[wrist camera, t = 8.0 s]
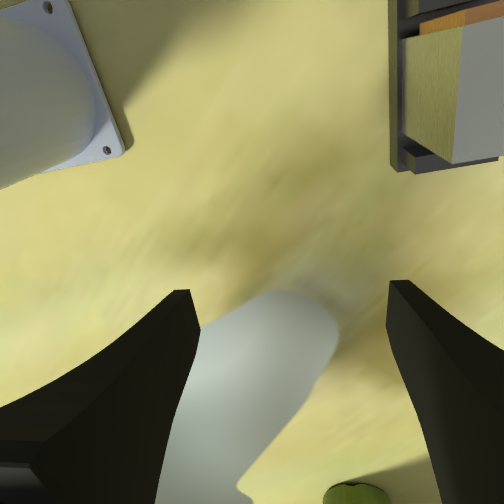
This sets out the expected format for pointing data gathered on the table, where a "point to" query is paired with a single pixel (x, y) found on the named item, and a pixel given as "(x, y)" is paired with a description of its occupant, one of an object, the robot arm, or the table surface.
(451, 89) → the grey and orange block
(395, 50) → the rail
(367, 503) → the plant pot
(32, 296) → the table surface
